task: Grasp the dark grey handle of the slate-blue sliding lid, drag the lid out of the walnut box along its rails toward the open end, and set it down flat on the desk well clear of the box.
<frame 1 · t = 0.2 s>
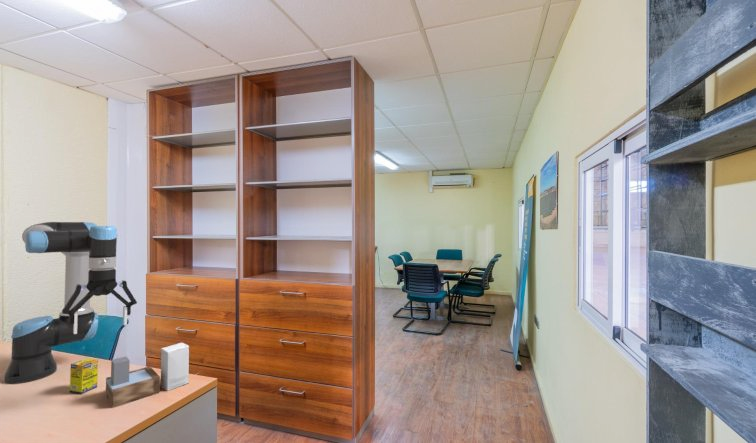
hand: (101, 328, 117), 27 cm above the table, fingers open, 13 cm apart
skincare box: (174, 385, 132), on the table
lid: (129, 381, 124), point 5 cm above the table, touching box
box: (132, 393, 125), on the table
supplement box: (83, 390, 127), on the table
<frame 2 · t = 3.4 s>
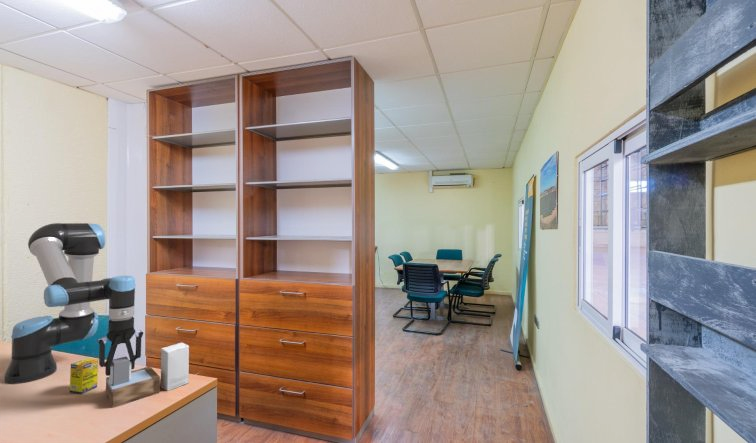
hand: (120, 380, 122), 6 cm above the table, fingers closed on lid, 5 cm apart
lid: (129, 381, 124), point 5 cm above the table, touching box, gripper
everything else where it was.
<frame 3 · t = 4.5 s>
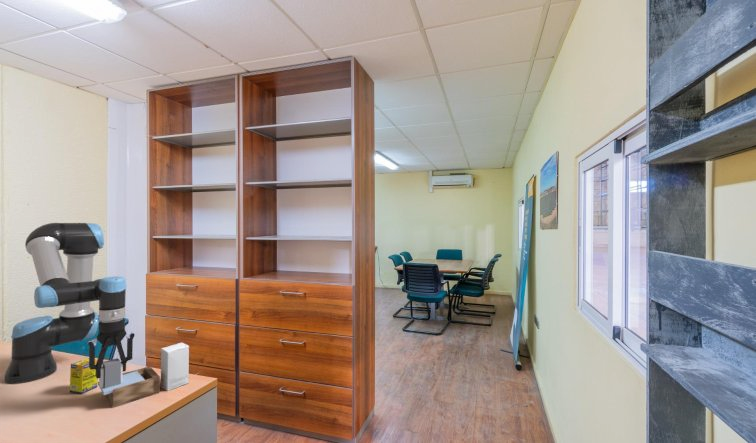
hand: (110, 383, 120), 6 cm above the table, fingers closed on lid, 5 cm apart
lid: (121, 383, 122), point 5 cm above the table, touching gripper
everything else where it was.
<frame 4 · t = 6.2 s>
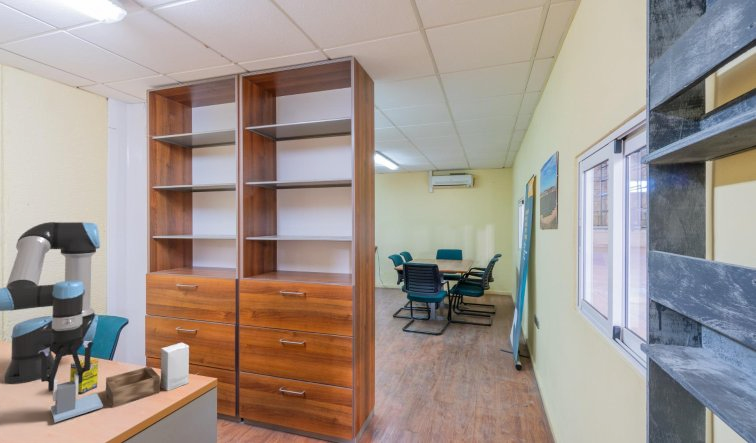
hand: (65, 396, 111), 6 cm above the table, fingers closed on lid, 4 cm apart
lid: (77, 408, 113), point 1 cm above the table, touching gripper
everything else where it was.
when the fingers open (5 cm above the table, at t = 7.7 s): lid stays where it is, on the table.
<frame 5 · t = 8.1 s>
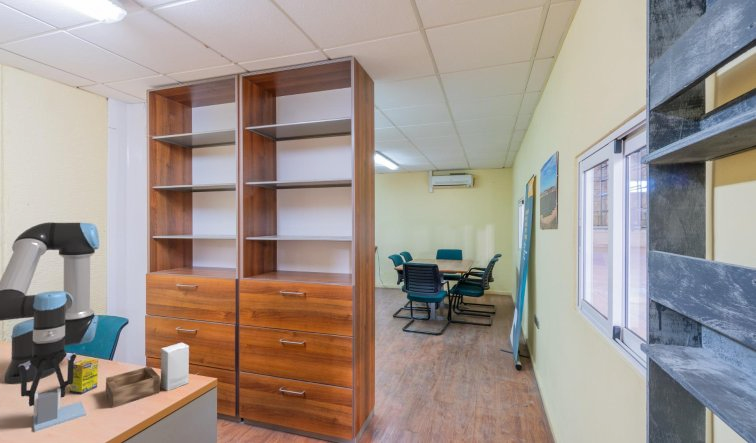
hand: (47, 410, 107), 3 cm above the table, fingers open, 5 cm apart
lid: (59, 417, 110), on the table
everything else where it was.
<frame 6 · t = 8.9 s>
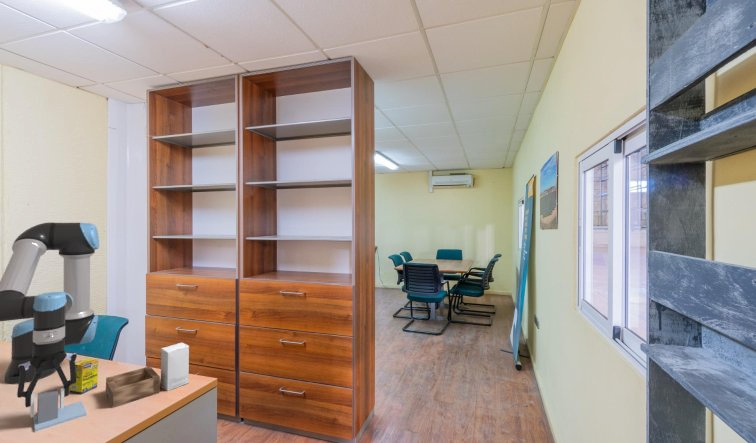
hand: (47, 410, 107), 3 cm above the table, fingers open, 6 cm apart
nothing on the table moved.
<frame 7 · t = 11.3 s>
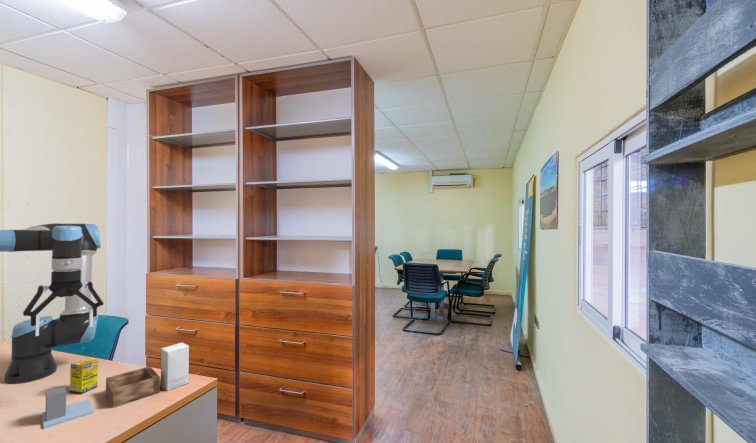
hand: (65, 330, 115), 27 cm above the table, fingers open, 13 cm apart
lid: (67, 414, 111), on the table
everything else where it was.
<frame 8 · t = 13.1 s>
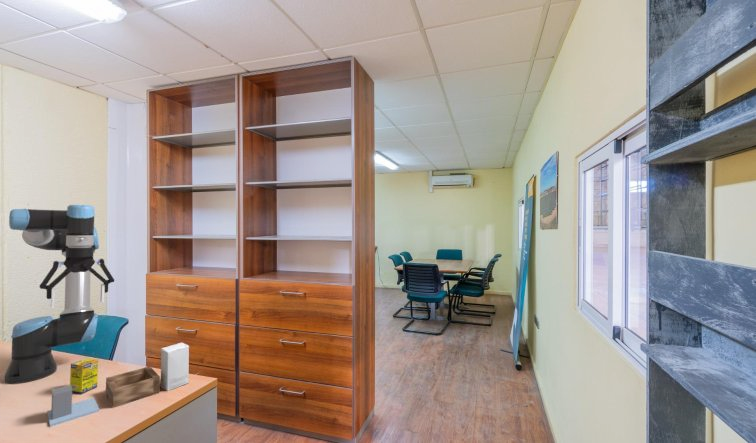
hand: (78, 304, 120), 35 cm above the table, fingers open, 13 cm apart
lid: (73, 412, 112), on the table
everything else where it was.
at the end: lid inside the target area (3.5 cm from its centre), on the table; lid touching table; lid tilted 0° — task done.
